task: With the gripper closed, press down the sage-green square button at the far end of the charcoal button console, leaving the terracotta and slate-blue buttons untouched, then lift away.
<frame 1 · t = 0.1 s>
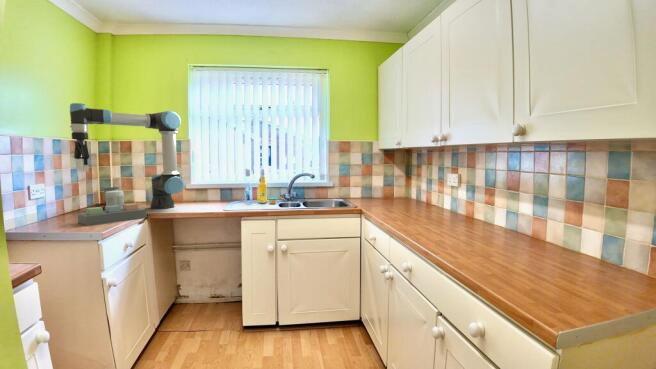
hand: (82, 170, 193), 28 cm above the countertop, fingers open, 13 cm apart
milk frother: (107, 209, 235), on the countertop
supplement tub: (115, 215, 213), on the countertop
green button: (94, 211, 189), point 6 cm above the countertop, slide at 0.0 cm
slate button: (113, 209, 196), point 6 cm above the countertop, slide at 0.0 cm
console: (113, 220, 196), on the countertop
terracotta button: (130, 207, 203), point 6 cm above the countertop, slide at 0.0 cm
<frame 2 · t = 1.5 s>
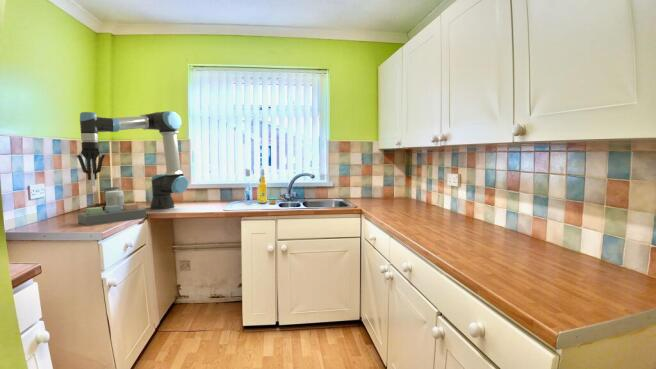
hand: (92, 185, 188), 20 cm above the countertop, fingers closed
nothing on the countertop moved.
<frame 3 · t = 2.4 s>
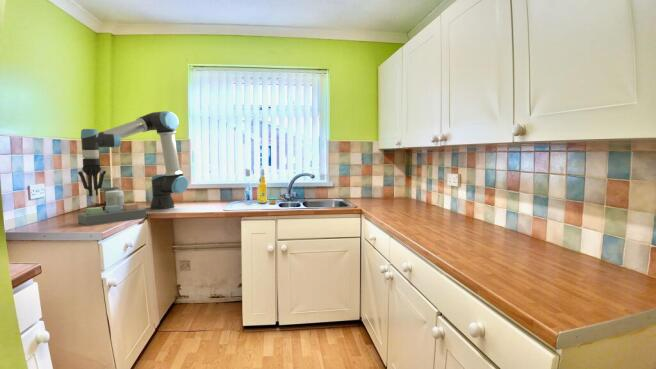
hand: (93, 201, 189), 11 cm above the countertop, fingers closed
nothing on the countertop moved.
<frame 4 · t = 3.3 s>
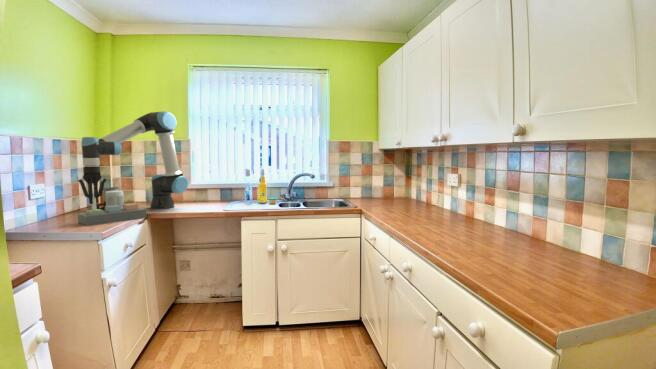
hand: (94, 209, 189), 7 cm above the countertop, fingers closed
green button: (94, 213, 189), point 5 cm above the countertop, slide at 1.1 cm, touching gripper
everything else where it was.
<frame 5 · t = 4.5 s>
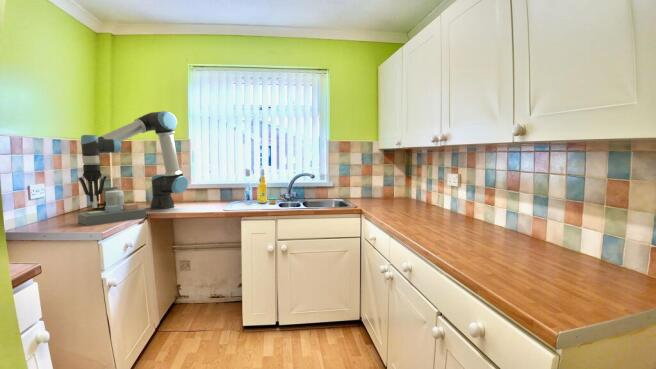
hand: (94, 207, 189), 8 cm above the countertop, fingers closed
green button: (94, 215, 189), point 4 cm above the countertop, slide at 2.1 cm
everything else where it was.
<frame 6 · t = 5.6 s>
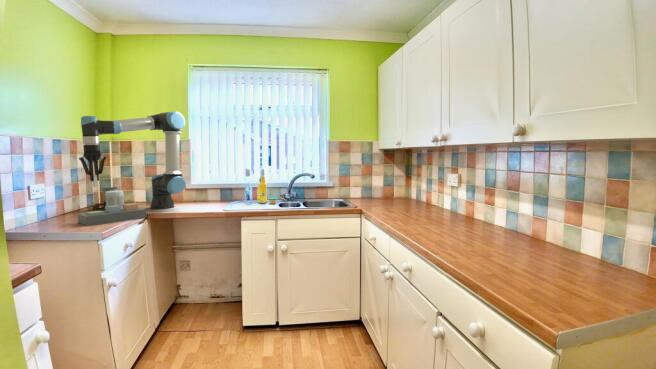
hand: (95, 186, 195), 19 cm above the countertop, fingers closed
nothing on the countertop moved.
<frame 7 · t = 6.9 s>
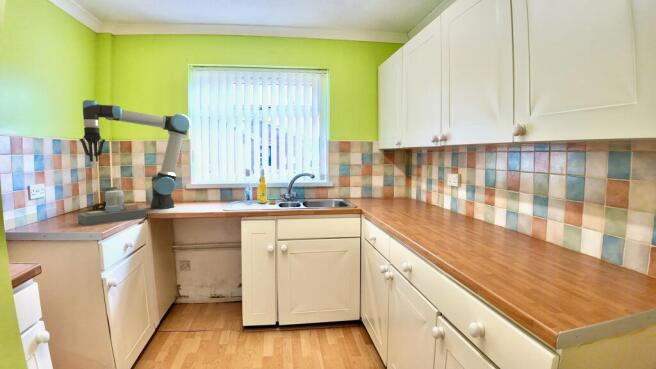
hand: (94, 167, 208), 29 cm above the countertop, fingers closed
nothing on the countertop moved.
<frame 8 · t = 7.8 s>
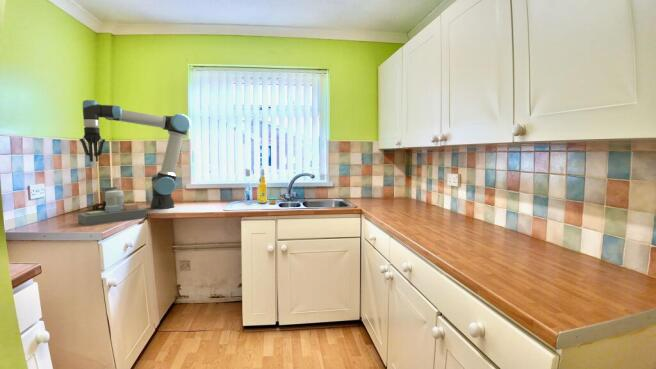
hand: (94, 167, 208), 29 cm above the countertop, fingers closed
nothing on the countertop moved.
at the end: green button slide at 2.1 cm; terracotta button slide at 0.0 cm; slate button slide at 0.0 cm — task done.
